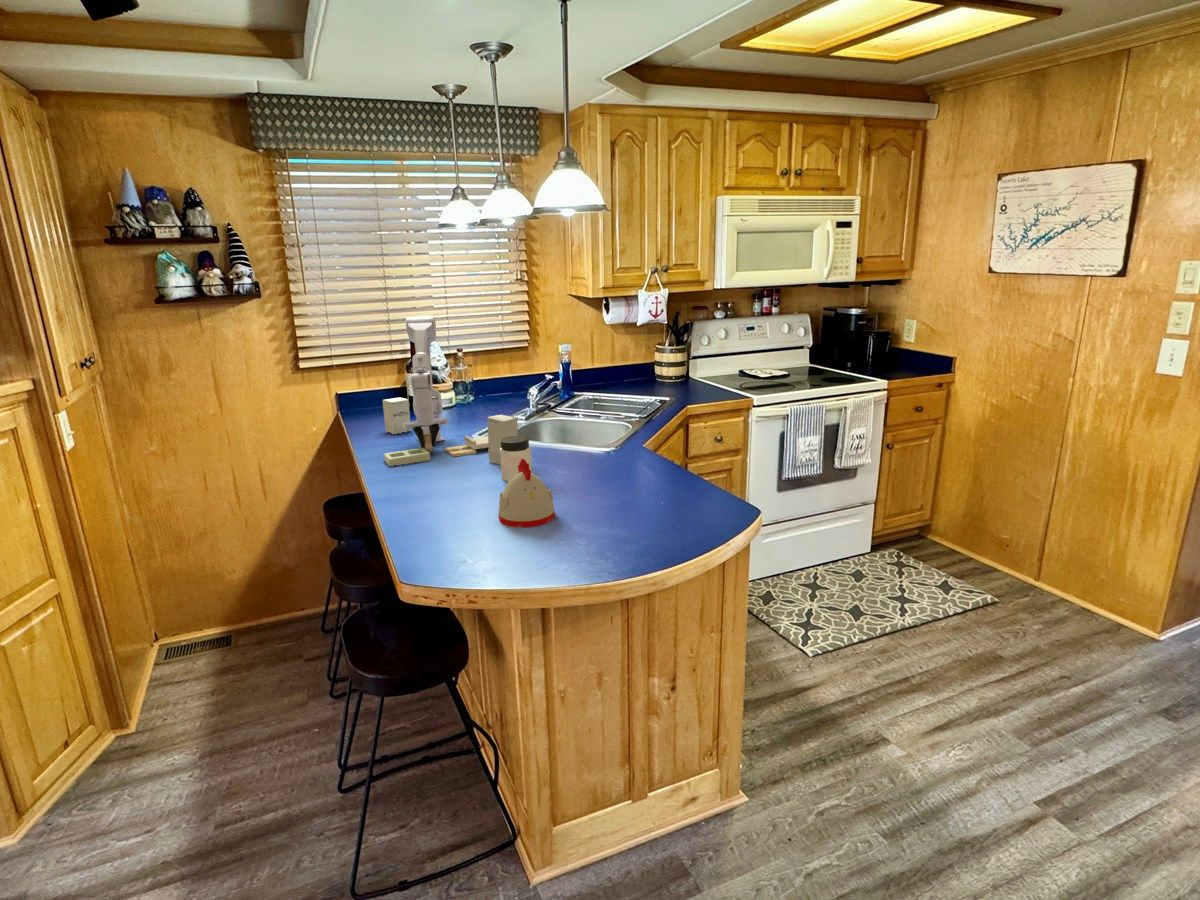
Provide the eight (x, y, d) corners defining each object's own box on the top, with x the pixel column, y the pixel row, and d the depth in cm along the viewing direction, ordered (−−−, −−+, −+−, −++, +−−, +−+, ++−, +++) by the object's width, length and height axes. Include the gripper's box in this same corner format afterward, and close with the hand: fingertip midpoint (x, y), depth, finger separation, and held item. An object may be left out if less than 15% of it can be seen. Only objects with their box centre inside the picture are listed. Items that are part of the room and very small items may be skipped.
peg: (422, 450, 238) (421, 433, 236) (431, 449, 239) (429, 432, 238) (425, 452, 235) (423, 435, 234) (433, 451, 237) (432, 434, 235)
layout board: (445, 450, 237) (444, 447, 237) (467, 447, 241) (467, 444, 241) (453, 456, 230) (452, 453, 229) (476, 453, 233) (476, 449, 233)
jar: (512, 472, 211) (509, 434, 208) (536, 475, 208) (534, 436, 205) (497, 481, 203) (494, 441, 200) (522, 484, 200) (519, 444, 197)
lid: (465, 443, 240) (464, 436, 239) (487, 440, 244) (486, 432, 243) (473, 449, 232) (473, 441, 232) (496, 446, 236) (495, 438, 235)
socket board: (384, 460, 227) (383, 453, 227) (423, 454, 233) (423, 447, 233) (389, 466, 221) (389, 459, 220) (430, 460, 227) (429, 453, 226)
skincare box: (488, 462, 222) (485, 417, 218) (502, 458, 227) (499, 413, 223) (506, 466, 217) (503, 420, 213) (520, 462, 222) (517, 416, 218)
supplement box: (393, 435, 261) (390, 402, 257) (385, 431, 266) (381, 399, 263) (412, 431, 265) (408, 399, 262) (403, 428, 271) (399, 396, 267)
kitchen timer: (507, 531, 166) (503, 471, 162) (492, 513, 178) (488, 457, 174) (562, 521, 171) (560, 463, 167) (544, 504, 183) (541, 449, 179)
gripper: (405, 412, 227) (409, 452, 230) (448, 407, 233) (452, 446, 237) (400, 409, 233) (404, 448, 236) (442, 403, 239) (446, 442, 243)
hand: (427, 447), depth 237 cm, fingers closed on peg, 3 cm apart
